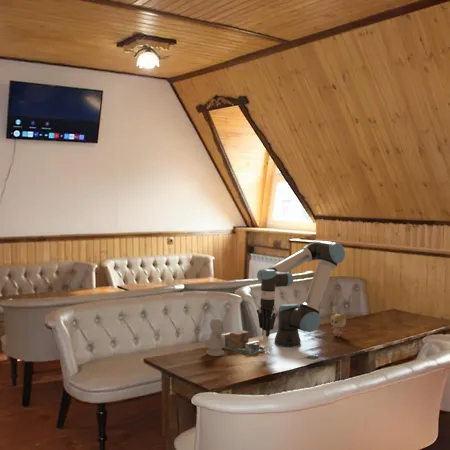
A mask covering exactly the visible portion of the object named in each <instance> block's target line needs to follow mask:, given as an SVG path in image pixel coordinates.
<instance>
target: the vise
mask: <svg viewBox="0 0 450 450" xmlns="http://www.w3.org/2000/svg"><path fill="white" fill-rule="evenodd" d="M221 335H222V336H224V337H225V347H224V348H223V349H225V350H230V351H233V352H236V353H240V354H243V355H246V356H253V355H257V354H261V353H264V352H265V347H264V346H262V345H261V346H260V345H259V350H251V351H250V350H246V349H245V347H243V348H239V347H238V349H237V348H233V347H230V332H227V333H221Z"/></svg>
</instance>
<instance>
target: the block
mask: <svg viewBox="0 0 450 450" xmlns="http://www.w3.org/2000/svg"><path fill="white" fill-rule="evenodd" d="M229 333H230V347H233V348H237V349H238V347H239V348H243V347H245V343H249V337H250V335H249V334H250V332H249V331H246V330H242V329H239V330H235V331H231V332H229Z"/></svg>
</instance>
